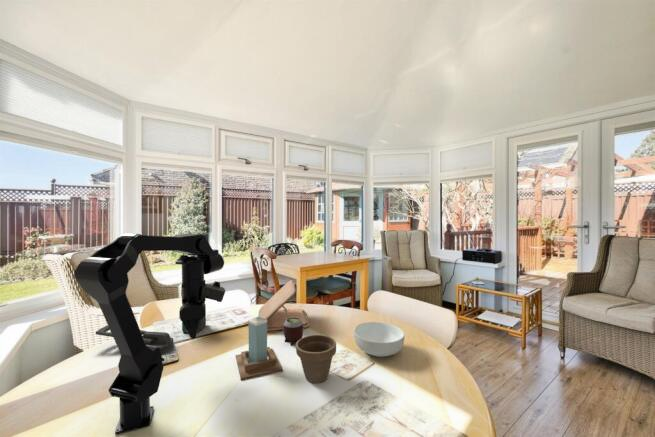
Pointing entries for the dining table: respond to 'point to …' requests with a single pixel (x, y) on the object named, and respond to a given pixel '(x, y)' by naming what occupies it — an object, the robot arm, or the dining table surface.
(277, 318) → the case
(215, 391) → the dining table surface
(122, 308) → the robot arm
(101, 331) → the zipper pull
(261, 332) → the pale blue rectangular block
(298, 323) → the mate gourd
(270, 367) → the picture frame
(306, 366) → the flower pot
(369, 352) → the cereal bowl
